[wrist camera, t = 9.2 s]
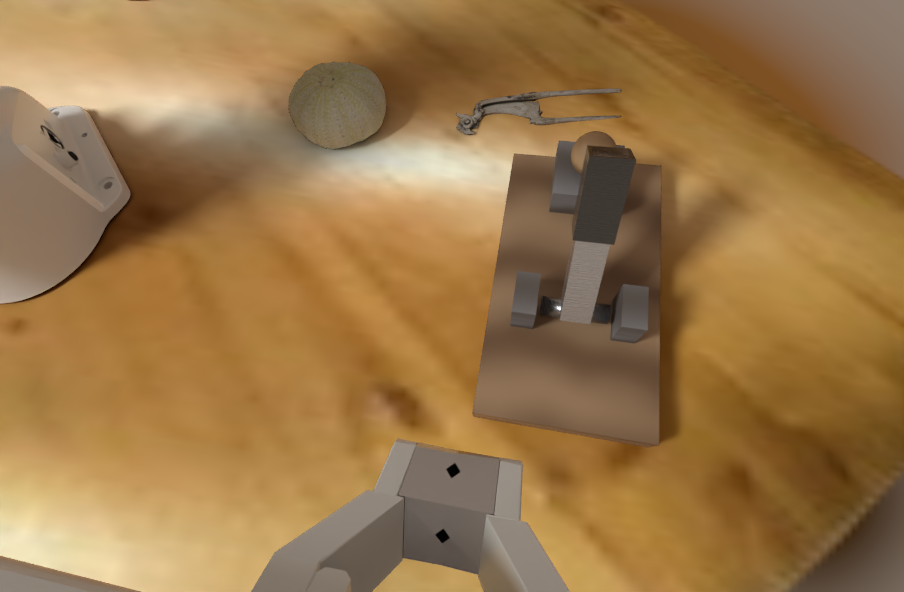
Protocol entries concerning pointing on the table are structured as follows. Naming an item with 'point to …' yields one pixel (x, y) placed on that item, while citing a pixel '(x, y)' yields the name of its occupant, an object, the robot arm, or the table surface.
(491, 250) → the table surface
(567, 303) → the lever
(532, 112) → the nutcracker
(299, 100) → the sea urchin shell
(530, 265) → the nutcracker bench
